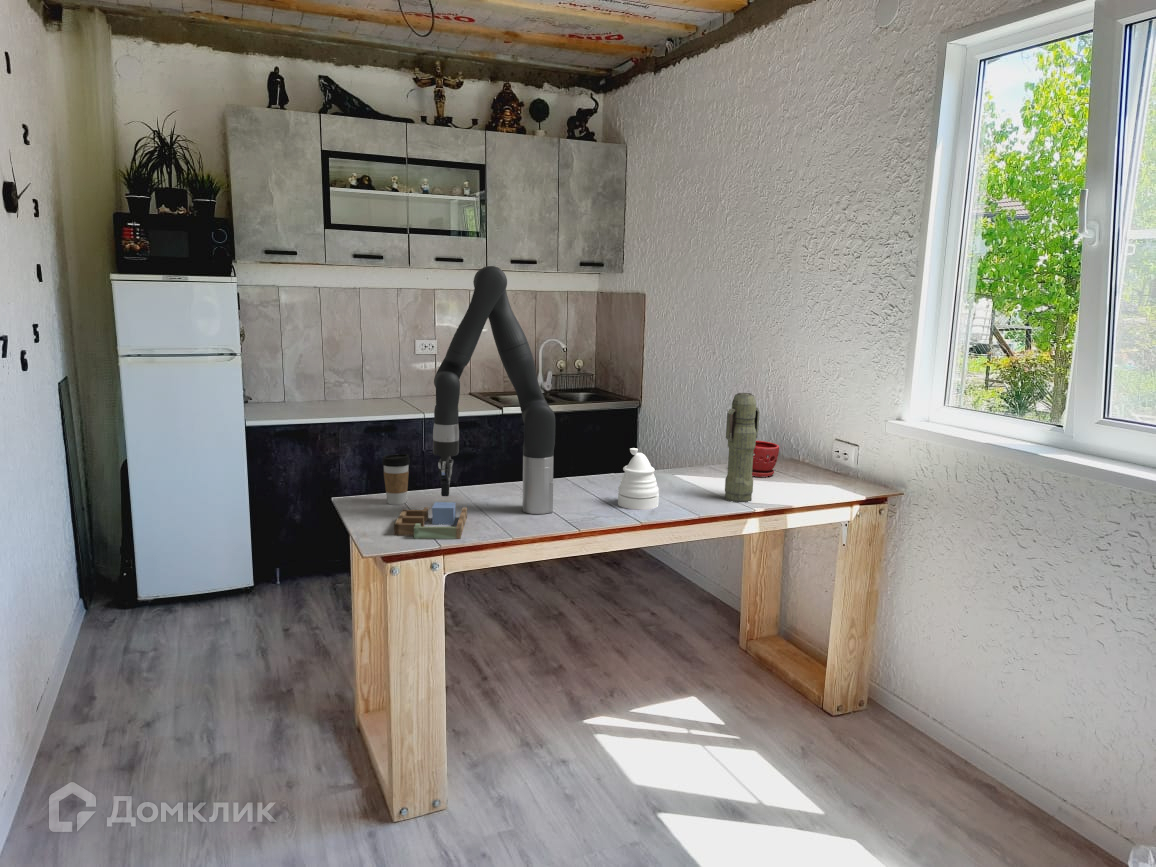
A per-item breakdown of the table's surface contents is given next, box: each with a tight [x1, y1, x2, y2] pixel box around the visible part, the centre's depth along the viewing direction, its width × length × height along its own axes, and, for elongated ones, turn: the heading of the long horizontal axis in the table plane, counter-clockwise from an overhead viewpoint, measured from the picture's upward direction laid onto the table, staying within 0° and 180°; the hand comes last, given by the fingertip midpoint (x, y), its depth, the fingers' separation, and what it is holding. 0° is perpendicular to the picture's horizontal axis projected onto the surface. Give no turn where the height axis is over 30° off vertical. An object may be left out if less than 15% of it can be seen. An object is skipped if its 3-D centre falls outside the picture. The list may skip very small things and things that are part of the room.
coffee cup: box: [381, 453, 411, 506], centre depth 243 cm, size 8×8×15 cm
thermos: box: [724, 392, 760, 503], centre depth 254 cm, size 9×12×35 cm
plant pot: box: [752, 440, 780, 478], centre depth 292 cm, size 13×13×12 cm
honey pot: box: [617, 447, 660, 511], centre depth 247 cm, size 13×13×18 cm
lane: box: [393, 506, 468, 540], centre depth 220 cm, size 20×18×3 cm
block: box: [431, 501, 457, 526], centre depth 226 cm, size 6×6×5 cm
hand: (445, 495), depth 232 cm, fingers closed
